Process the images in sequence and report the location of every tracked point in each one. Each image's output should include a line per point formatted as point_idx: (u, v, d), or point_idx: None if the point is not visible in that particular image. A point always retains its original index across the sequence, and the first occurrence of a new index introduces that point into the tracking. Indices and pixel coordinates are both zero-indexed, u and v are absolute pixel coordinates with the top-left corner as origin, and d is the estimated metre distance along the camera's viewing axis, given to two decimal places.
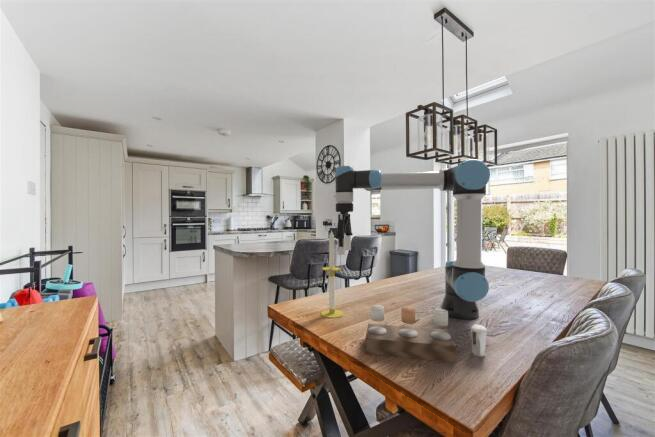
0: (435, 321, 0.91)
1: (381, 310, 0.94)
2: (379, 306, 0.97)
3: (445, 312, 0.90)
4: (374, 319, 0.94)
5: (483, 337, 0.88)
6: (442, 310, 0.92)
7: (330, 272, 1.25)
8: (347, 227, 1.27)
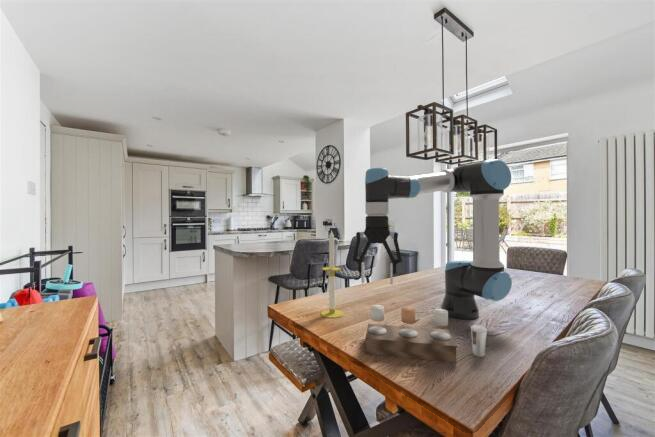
0: (435, 321, 0.91)
1: (381, 310, 0.94)
2: (379, 306, 0.97)
3: (445, 312, 0.90)
4: (374, 319, 0.94)
5: (483, 337, 0.88)
6: (442, 310, 0.92)
7: (330, 272, 1.25)
8: (386, 249, 0.94)
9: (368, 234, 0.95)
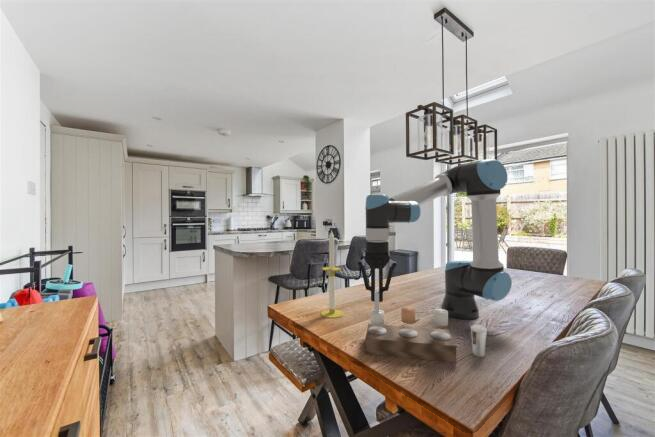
0: (435, 321, 0.91)
1: (381, 315, 0.94)
2: (379, 311, 0.97)
3: (445, 312, 0.90)
4: (374, 324, 0.94)
5: (483, 337, 0.88)
6: (442, 310, 0.92)
7: (330, 272, 1.25)
8: (379, 276, 0.95)
9: (369, 259, 0.95)
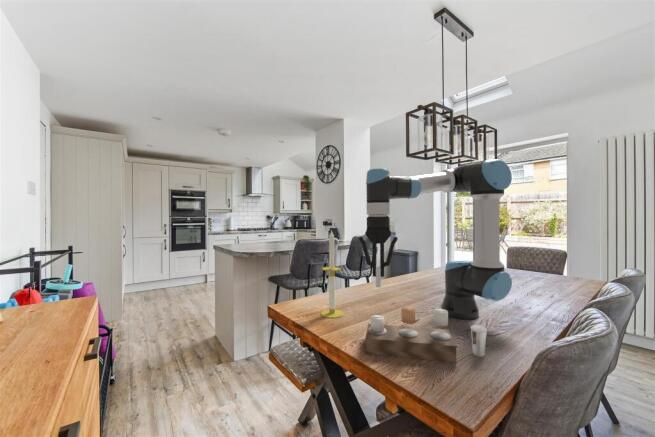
0: (435, 321, 0.91)
1: (381, 321, 0.94)
2: (379, 316, 0.97)
3: (445, 312, 0.90)
4: (374, 330, 0.94)
5: (483, 337, 0.88)
6: (442, 310, 0.92)
7: (330, 272, 1.25)
8: (380, 251, 0.95)
9: (370, 234, 0.95)
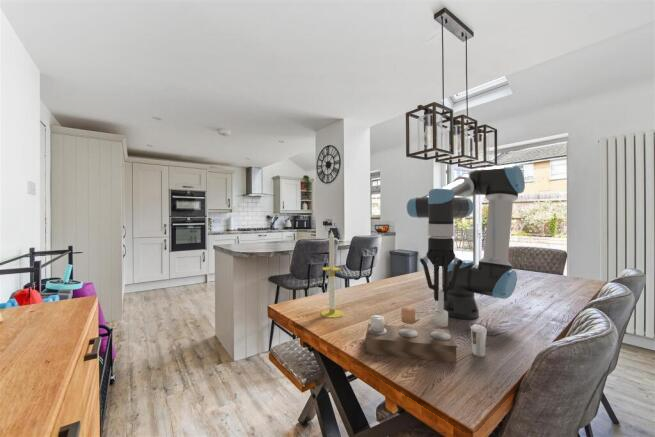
0: (435, 322, 0.91)
1: (381, 321, 0.94)
2: (379, 316, 0.97)
3: (445, 312, 0.90)
4: (374, 330, 0.94)
5: (483, 337, 0.88)
6: None
7: (330, 272, 1.25)
8: (443, 274, 0.91)
9: (432, 256, 0.91)
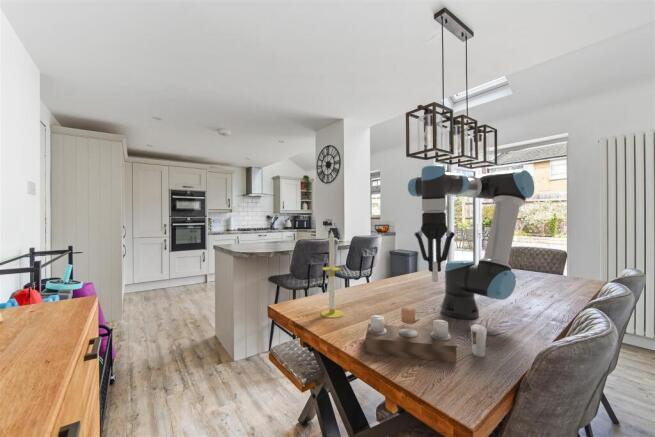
0: (435, 332, 0.91)
1: (381, 321, 0.94)
2: (379, 316, 0.97)
3: (445, 323, 0.90)
4: (374, 330, 0.94)
5: (483, 337, 0.88)
6: (442, 321, 0.92)
7: (330, 272, 1.25)
8: (436, 246, 0.97)
9: (426, 230, 0.96)
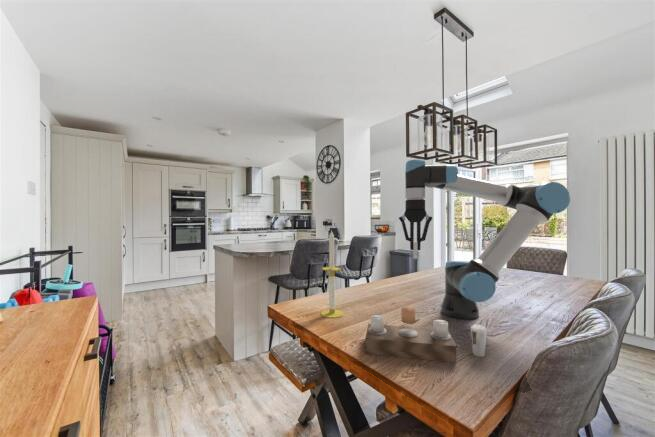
0: (435, 332, 0.91)
1: (381, 321, 0.94)
2: (379, 316, 0.97)
3: (445, 323, 0.90)
4: (374, 330, 0.94)
5: (483, 337, 0.88)
6: (442, 321, 0.92)
7: (330, 272, 1.25)
8: (417, 228, 1.14)
9: (408, 214, 1.14)
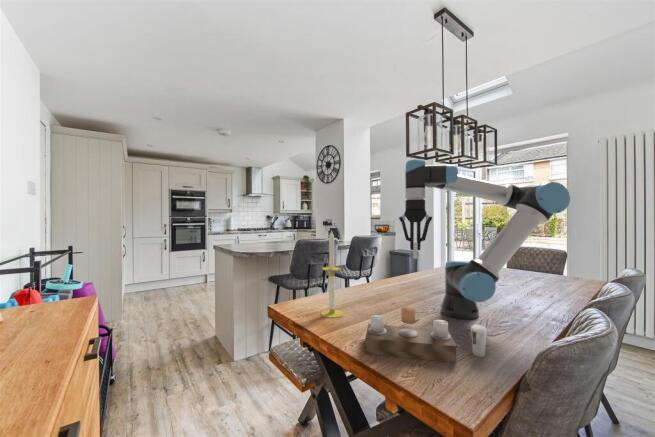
0: (435, 332, 0.91)
1: (381, 321, 0.94)
2: (379, 316, 0.97)
3: (445, 323, 0.90)
4: (374, 330, 0.94)
5: (483, 337, 0.88)
6: (442, 321, 0.92)
7: (330, 272, 1.25)
8: (417, 228, 1.14)
9: (408, 214, 1.14)
